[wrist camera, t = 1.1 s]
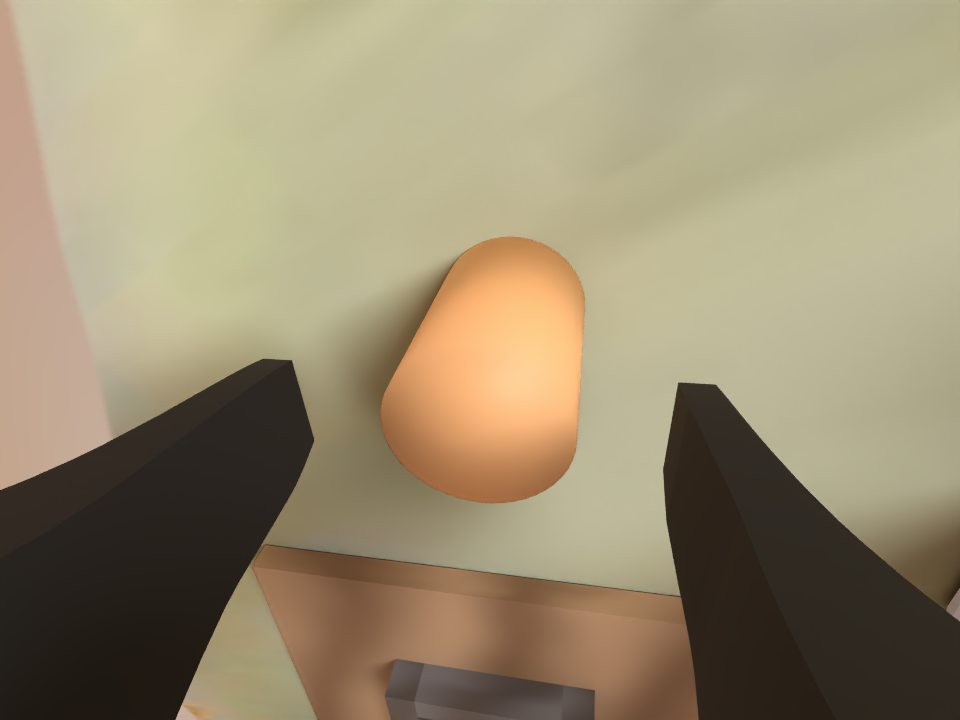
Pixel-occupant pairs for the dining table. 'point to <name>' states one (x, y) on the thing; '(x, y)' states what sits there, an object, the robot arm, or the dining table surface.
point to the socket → (474, 643)
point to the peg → (492, 376)
